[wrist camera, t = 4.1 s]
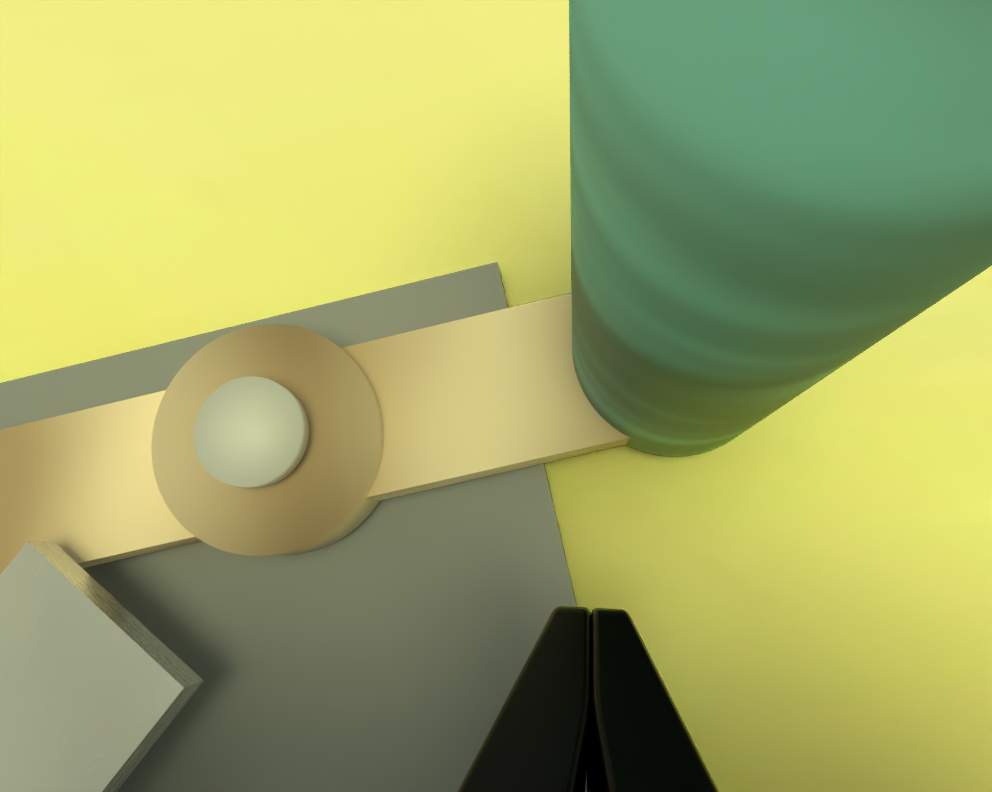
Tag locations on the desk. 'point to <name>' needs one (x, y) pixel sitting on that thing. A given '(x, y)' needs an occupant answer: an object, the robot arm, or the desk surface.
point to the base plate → (330, 585)
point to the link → (598, 283)
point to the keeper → (77, 679)
